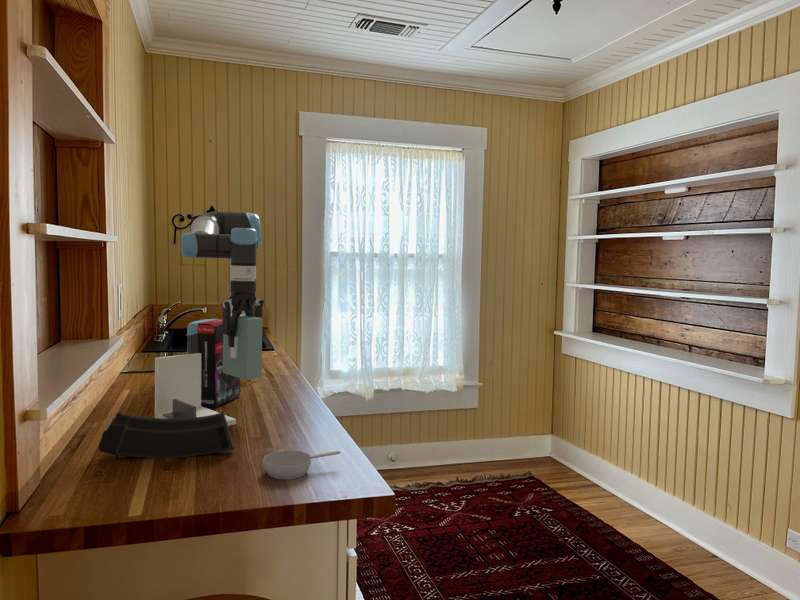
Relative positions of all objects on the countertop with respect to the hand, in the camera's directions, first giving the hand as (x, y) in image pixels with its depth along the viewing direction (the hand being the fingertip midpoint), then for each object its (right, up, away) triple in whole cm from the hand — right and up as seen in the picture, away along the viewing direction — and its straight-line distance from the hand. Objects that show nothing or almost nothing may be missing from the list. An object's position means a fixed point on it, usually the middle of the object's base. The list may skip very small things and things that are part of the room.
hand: (242, 356), depth 178 cm
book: (0, -6, +1) cm, 6 cm away
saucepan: (+25, -23, -42) cm, 54 cm away
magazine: (-8, -21, -35) cm, 42 cm away
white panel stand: (-12, -18, -6) cm, 23 cm away
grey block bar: (-15, -17, -10) cm, 25 cm away
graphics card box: (-12, -17, +17) cm, 27 cm away
